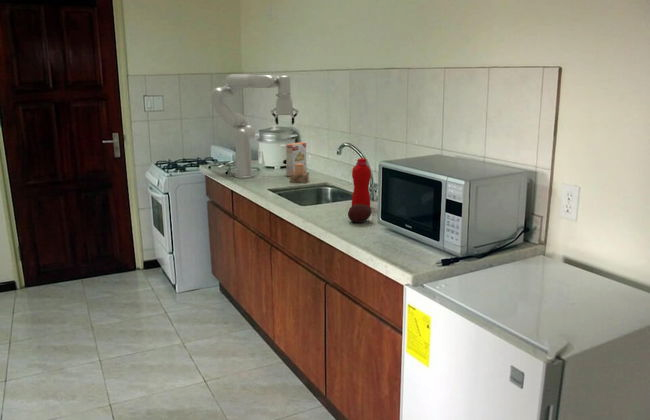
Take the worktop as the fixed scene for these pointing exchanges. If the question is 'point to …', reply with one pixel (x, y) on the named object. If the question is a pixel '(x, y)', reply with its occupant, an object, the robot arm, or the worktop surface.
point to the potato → (359, 213)
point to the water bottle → (361, 183)
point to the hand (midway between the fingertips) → (284, 124)
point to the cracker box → (295, 156)
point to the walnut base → (299, 177)
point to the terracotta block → (299, 168)
